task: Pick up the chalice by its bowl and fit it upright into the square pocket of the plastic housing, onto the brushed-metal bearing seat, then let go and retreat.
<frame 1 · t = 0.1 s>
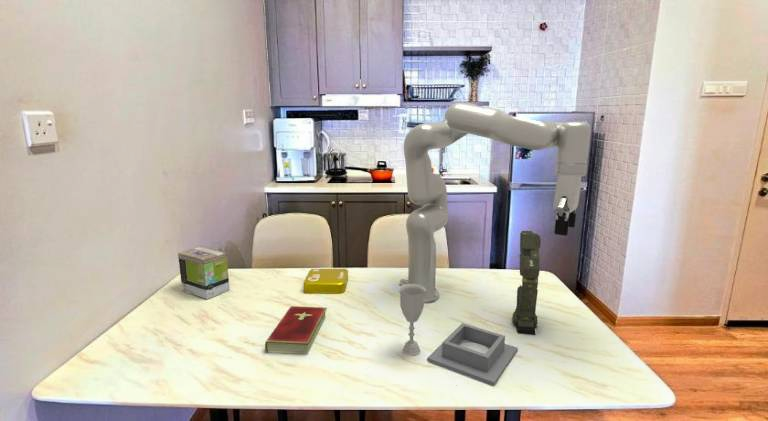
hand: (564, 230, 115), 31 cm above the table, tool pointing down, fingers open, 9 cm apart
hardcover book: (298, 335, 123), on the table
housing: (473, 356, 111), on the table
element tile: (326, 286, 157), on the table
mechanical leg: (523, 324, 128), on the table
chalice: (411, 351, 114), on the table
tea box: (206, 291, 152), on the table
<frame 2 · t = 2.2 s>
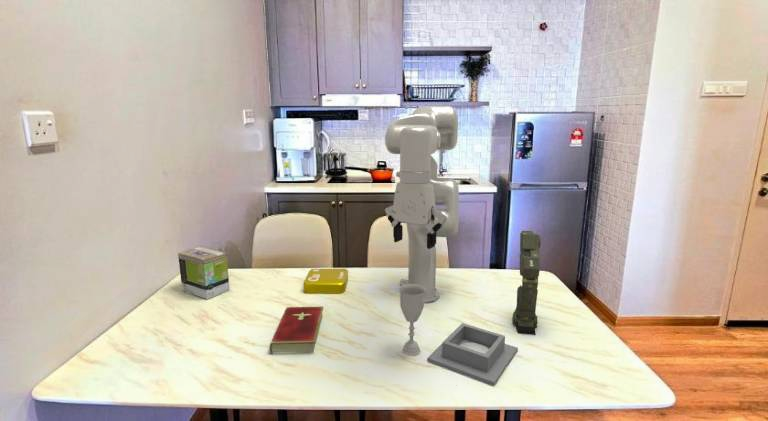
hand: (414, 244, 107), 30 cm above the table, tool pointing down, fingers open, 9 cm apart
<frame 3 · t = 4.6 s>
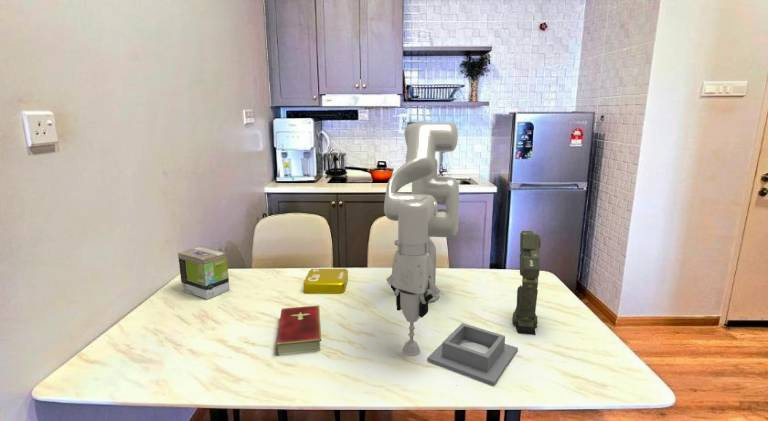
hand: (411, 311, 111), 12 cm above the table, tool pointing down, fingers closed on chalice, 6 cm apart
chalice: (411, 351, 114), on the table, touching gripper
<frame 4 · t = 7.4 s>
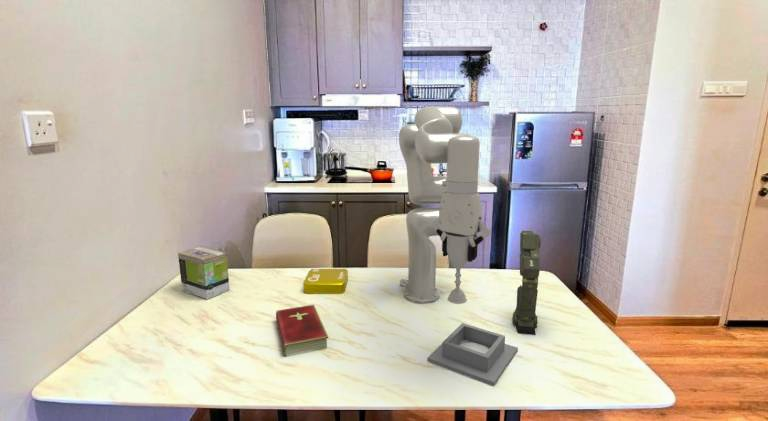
hand: (459, 256, 105), 28 cm above the table, tool pointing down, fingers closed on chalice, 6 cm apart
chalice: (457, 300, 108), point 16 cm above the table, touching gripper
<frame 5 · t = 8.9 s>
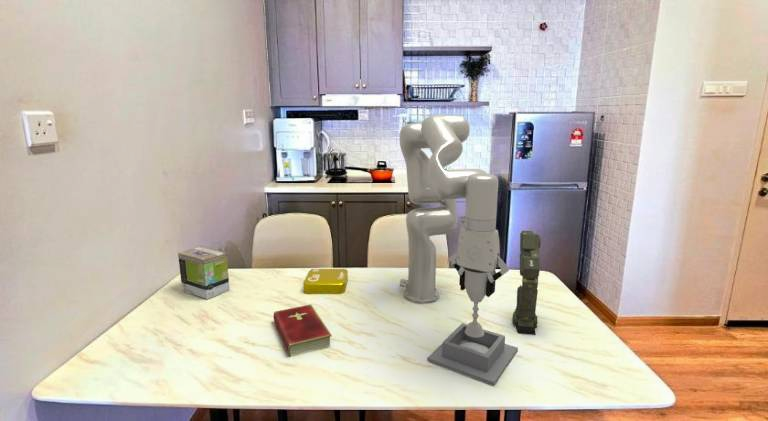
hand: (476, 291, 107), 19 cm above the table, tool pointing down, fingers closed on chalice, 6 cm apart
chalice: (474, 333, 109), point 7 cm above the table, touching gripper
when the fingers open (14 cm above the table, at t = 10.2 s): chalice drops 1 cm, resting on housing.
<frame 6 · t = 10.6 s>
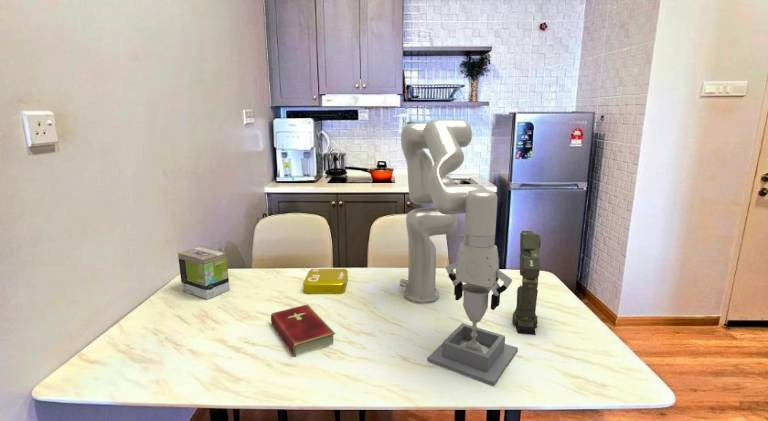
hand: (476, 303, 107), 15 cm above the table, tool pointing down, fingers open, 9 cm apart
chalice: (473, 351, 111), point 1 cm above the table, touching housing
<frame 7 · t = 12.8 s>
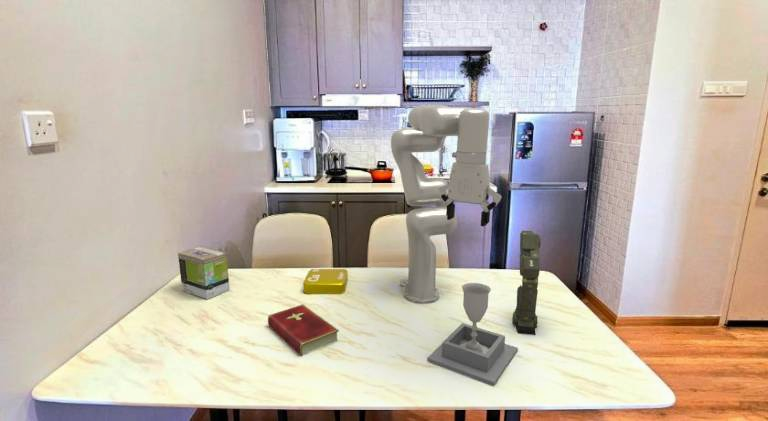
hand: (467, 221, 112), 35 cm above the table, tool pointing down, fingers open, 9 cm apart
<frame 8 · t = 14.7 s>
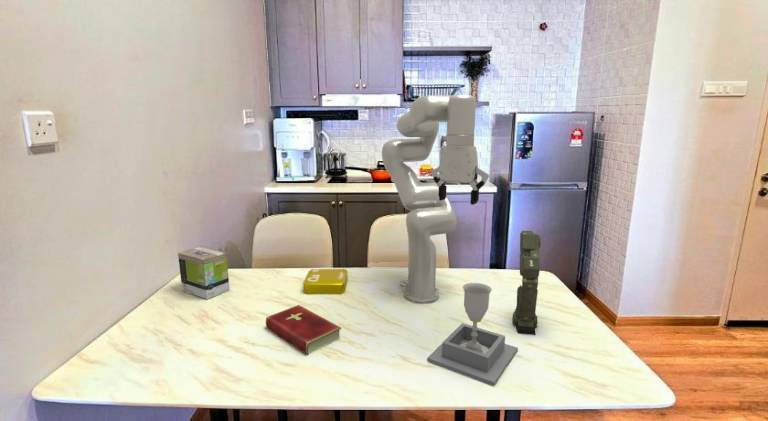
hand: (457, 201, 119), 38 cm above the table, tool pointing down, fingers open, 9 cm apart
at the end: chalice 0.2 cm off-centre on the housing, point 1.1 cm above the housing's base; chalice tilted 0°; the gripper is holding nothing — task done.
